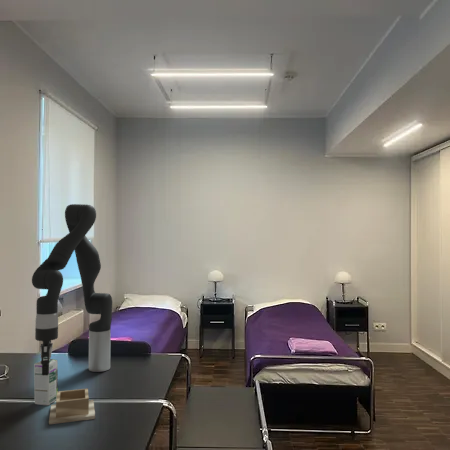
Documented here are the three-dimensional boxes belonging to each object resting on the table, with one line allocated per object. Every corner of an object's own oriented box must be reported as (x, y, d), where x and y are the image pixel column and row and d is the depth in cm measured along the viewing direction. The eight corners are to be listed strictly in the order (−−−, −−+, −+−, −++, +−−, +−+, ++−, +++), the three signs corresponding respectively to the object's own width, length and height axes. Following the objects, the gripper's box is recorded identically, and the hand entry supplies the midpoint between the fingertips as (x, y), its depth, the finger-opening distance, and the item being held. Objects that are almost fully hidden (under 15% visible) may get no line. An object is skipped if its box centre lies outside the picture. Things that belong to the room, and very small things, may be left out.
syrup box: (48, 405, 155) (49, 364, 155) (33, 404, 156) (33, 362, 156) (58, 399, 160) (58, 359, 161) (43, 398, 162) (43, 358, 162)
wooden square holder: (51, 407, 153) (51, 390, 153) (93, 402, 158) (93, 385, 158) (48, 424, 140) (49, 405, 140) (95, 418, 144) (95, 400, 144)
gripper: (57, 329, 153) (56, 376, 153) (58, 321, 167) (58, 365, 166) (33, 330, 151) (32, 378, 150) (37, 322, 164) (36, 366, 164)
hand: (46, 371), depth 158 cm, fingers open, 8 cm apart
